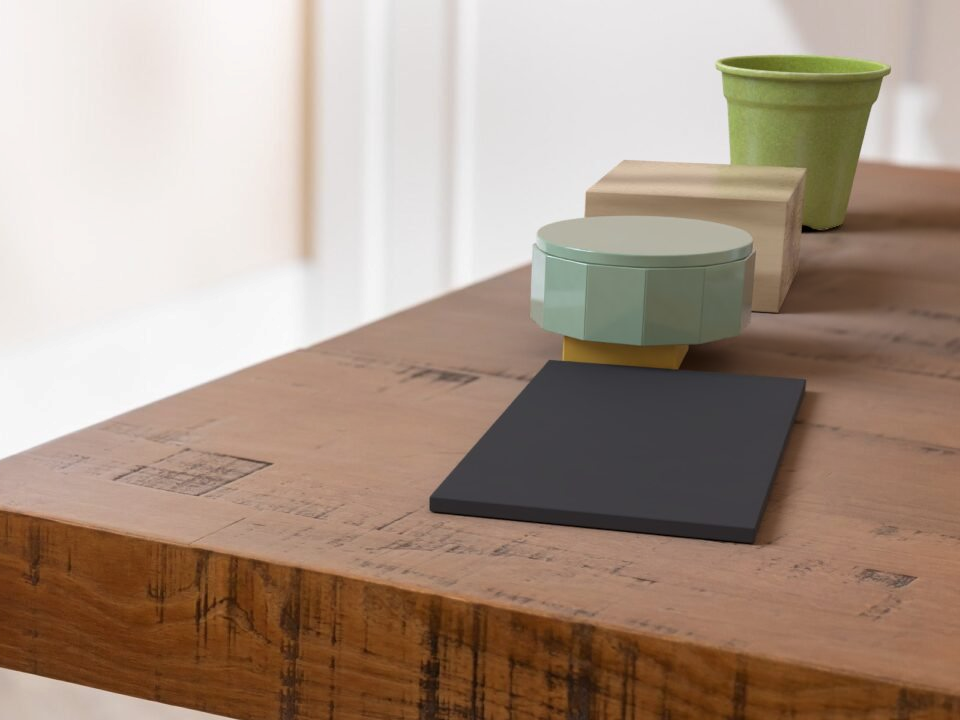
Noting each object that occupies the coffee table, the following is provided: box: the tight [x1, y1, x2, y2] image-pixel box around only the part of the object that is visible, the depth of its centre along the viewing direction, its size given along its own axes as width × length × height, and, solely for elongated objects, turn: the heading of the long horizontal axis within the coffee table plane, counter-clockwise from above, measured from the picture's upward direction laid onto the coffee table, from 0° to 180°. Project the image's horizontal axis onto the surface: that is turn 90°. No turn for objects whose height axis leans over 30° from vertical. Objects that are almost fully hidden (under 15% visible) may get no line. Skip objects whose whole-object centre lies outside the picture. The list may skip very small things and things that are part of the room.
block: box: [561, 335, 689, 369], centre depth 75 cm, size 4×4×4 cm
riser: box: [583, 159, 807, 314], centre depth 89 cm, size 10×9×5 cm
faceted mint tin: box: [529, 216, 756, 346], centre depth 75 cm, size 9×9×4 cm
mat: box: [428, 359, 807, 544], centre depth 65 cm, size 18×10×1 cm, turn 163°
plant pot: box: [714, 54, 892, 230], centre depth 103 cm, size 9×9×9 cm
